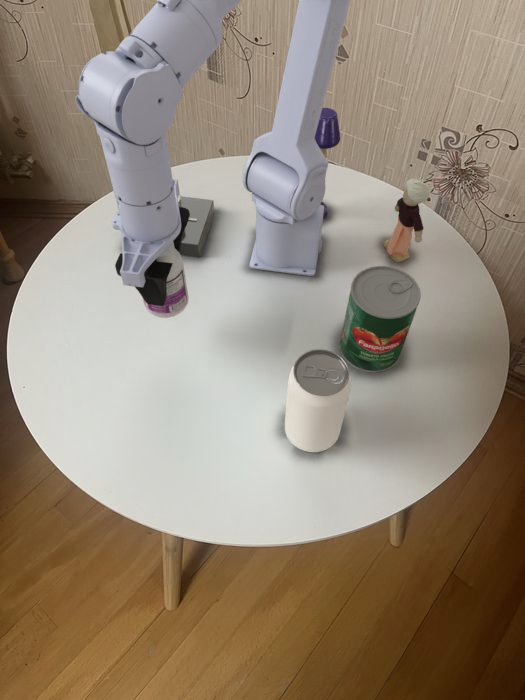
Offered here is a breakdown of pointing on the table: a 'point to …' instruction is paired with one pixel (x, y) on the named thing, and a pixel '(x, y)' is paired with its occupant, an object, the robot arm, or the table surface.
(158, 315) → the pill bottle
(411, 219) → the grandmother figurine
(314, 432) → the can
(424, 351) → the table surface
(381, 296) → the canned tomato
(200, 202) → the knob base
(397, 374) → the table surface
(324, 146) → the toy lamp
